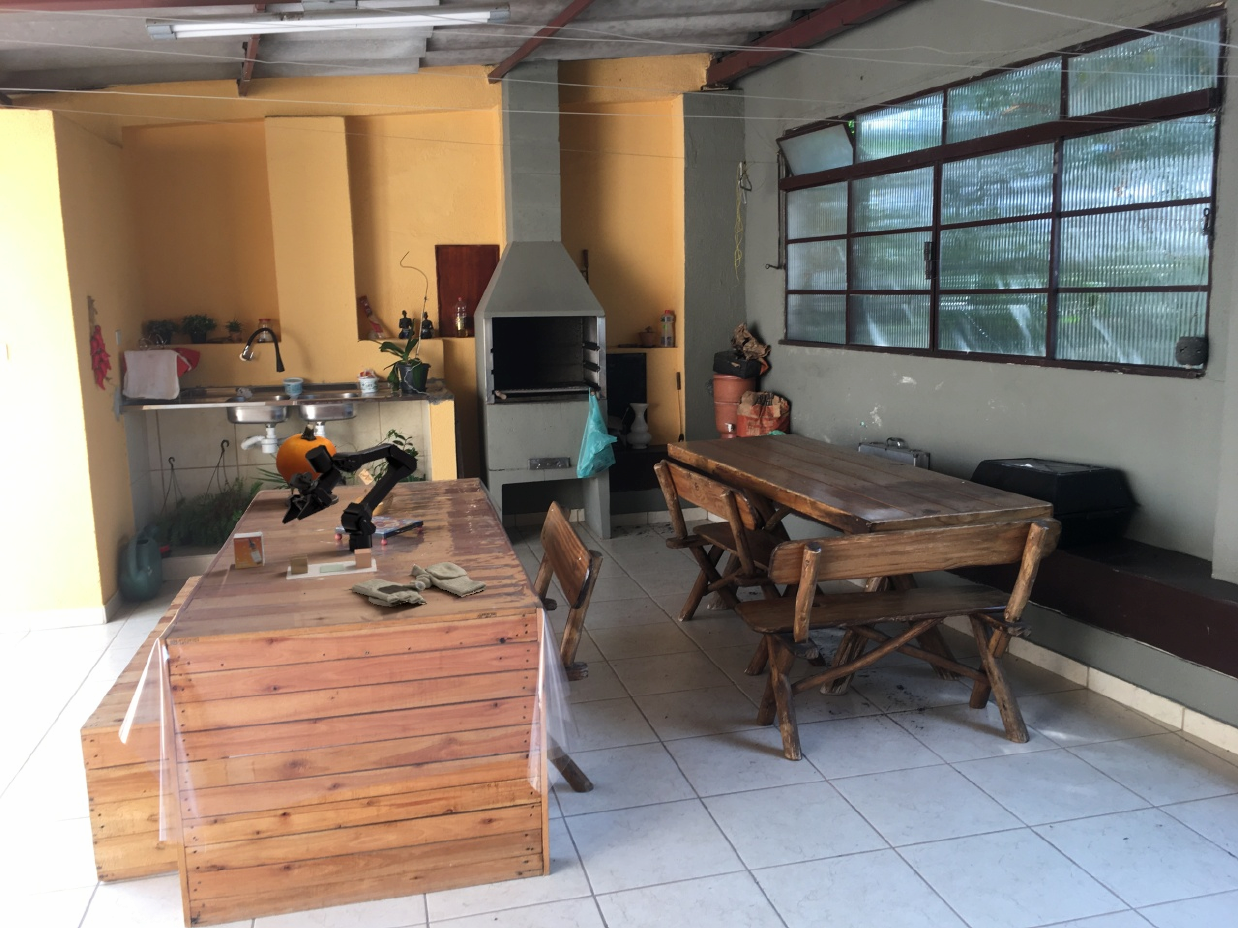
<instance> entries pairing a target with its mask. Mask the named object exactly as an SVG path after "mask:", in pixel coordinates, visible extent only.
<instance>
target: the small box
mask: <svg viewBox="0 0 1238 928" xmlns="http://www.w3.org/2000/svg"><path fill="white" fill-rule="evenodd" d="M263 534H264V533H263V531H255V532H246V533H245V532H244V533H234V536H233V538H232V539H233V540H232V541H233V553H234V565H235V566H234V568H235V569H236V570H237V569H249V568H258V567H264V566H265V562H266V561H265V551H264V550H265V549H264V535H263Z"/></svg>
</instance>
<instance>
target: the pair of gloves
mask: <svg viewBox="0 0 1238 928" xmlns="http://www.w3.org/2000/svg"><path fill="white" fill-rule="evenodd" d="M410 572H411V573H410V575H412V576H415V580H410V582H409V583H404V584H403V583H400V582H395V581H389V580H385V579H382V578H380V579H379V578H374V579H368V580H365V581H361V582H359V583H355V584H354V585H352V587H351V590H352V592H353V591H354V593H355V592H357V593H356V594H359V593H360V595H363V594H364V595H363V596H368V602H369V601H370V602H371V603H370V602H369V603H370V604H372V603H373V604H372V605H374V604H377V605H382V606H381V607H383V606H389V607H388V608H392V607H391V606H395V605H398V604H400V603H403V602H406V601H408V602H407V603H410V604H415V603H418V604H419V605H420V604H422V603H426V602H428V601H427V600H426V599H424V598H423V596H422V595H421V594H420V593H422V592H423V591H424V590H426V589H425V588H427V589H429V588H431V587H434V586H435V587H438V588H439V589H441V590H442V589H443V590H442V591H445V590H447V591H446V592H448V591H449V593H450V592H451V593H450V594H453V593H454V594H453V595H455V594H457V595H459V596H463V595H466V594H470V593H473V591H474V592H477V591H480V590H484V591H485V590H486V589H487V582H483V581H480V580H472V579H471V578H470V577H469V576H467V575H468V573H467V571H466V570H465V569H464V568H462V567H461V566H460V565H457V564H455V563H453V562H449V561H444V562H438V563H436V564H431V565H429V566H426V567H425V568H421V567H420V566H419V565H417V564H414V565H413V566H412V569H411V571H410ZM433 585H434V586H433ZM457 595H456V596H457ZM459 596H458V597H459ZM377 605H376V606H377ZM400 605H401V604H400ZM398 606H399V605H398ZM395 607H396V606H395Z"/></svg>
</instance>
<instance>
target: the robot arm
mask: <svg viewBox="0 0 1238 928" xmlns="http://www.w3.org/2000/svg"><path fill="white" fill-rule="evenodd" d="M305 458H306V460H307V461H308V463H309V464H310V466H311V467H312V469H313V470H314V472H316V473H321V474H320V475H319V476H318V477H317V479H316V480H313V477H312V473H310V472H309V471H308V472H305V473H304V474H302V473H296V474H293V475H292V477H291V480H290V482H289V485H290V486H293V487H295V489H297V490H298V489H299V490H301V491H300V493H301V494H302V495H304V496H303V497H301V496H300V495H299V493H297V494H296V493H295V494H294V493H293V495H292V494H291V495H288V497H287V498H285V503H286V502H287V504H288V506H287V510H286V512H285V514H284V516H283V519H281V522H282V524H283V525H286V524H288V523H290V522H292V521H294V520H296V519H297V520H298V521H302V520H304V519H306V518H308V517H310V516H313V515H315V514H317V513H319V512H321V511H324V510H325V509H327V508H330V507H331V505H333V504H332V498H331V497H330V496H329V495H331V494H334V493H333V490H334V489H335V488H336V487H337V486H338V485H340V486H346V485H347V481H346V478H347V477H346V476H345V475H343V474H342V473H347V474H353V473H354V472H356V471H359V470H360V469H361V468H362V467H363V466H364V465H365V464H366V465H367V464H369V463H372V462H377V461H379V460H382V459H384V460H385V462H387V465H386V466H387V467H386V472H385V473H384V475H382V476H381V478H380V479H379V480H378V481H377V483H375V484H374V485H373V487H372V488H371V489H370V491H369V492H368V493H367V494H366V495H365V496H364V497H363V498H362V500H361V501H360V502H352V501H351V502H349V503H348V505H347V507H346V508H345V509H343V510H342V512H343V513H341V516H340V524H341V526H342V528H343V530H344V532H345V534H348V535H349V539H348V549H349V552H352V553H355V550H358V549H370V550H371V549H372V548H373V537H372V535H374V534H376V531H377V525H375V524H374V523H373V522H372V520H373V513H374V511H376V509H377V507H379V505H380V504H382V501H384V500H385V498H386V497H387V496H388V495H389V493H391V491H392V490H393V489H394V488H395V486H397V485H398V483H399V482H400V481H403V480H404V479H406V478H409V477H410V476H411V475H412V474H413V473H415V472H416V470H417V469H418V462H417V459H416V457H415V456H413V455H411V454H409V453H408V452H406V451H405V450H403V449H401V448H400V447H399V446H398V445H397V444H395V443H389V442H383V443H381V444H379V445H378V444H377V445H376V446H371V447H368V448H364V449H361V450H358V451H344V452H343V451H342V452H337V453H335V454H334V455H333V456H331V455H330V453H329V452H328V450H327V448H326V446H325V445H319V446H318V447H315V448H313V449H311V450H309V451H308V452H307V453H306V454H305Z"/></svg>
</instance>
